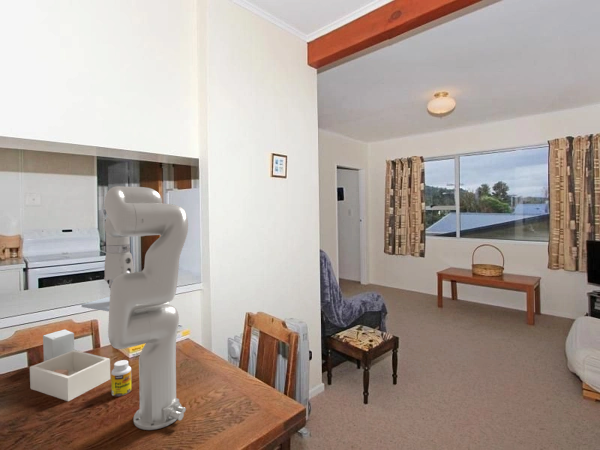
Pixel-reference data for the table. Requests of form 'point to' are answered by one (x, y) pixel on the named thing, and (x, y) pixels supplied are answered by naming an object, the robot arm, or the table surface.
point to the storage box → (70, 374)
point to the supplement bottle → (121, 378)
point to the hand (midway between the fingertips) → (119, 298)
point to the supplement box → (57, 344)
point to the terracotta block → (61, 371)
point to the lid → (98, 304)
